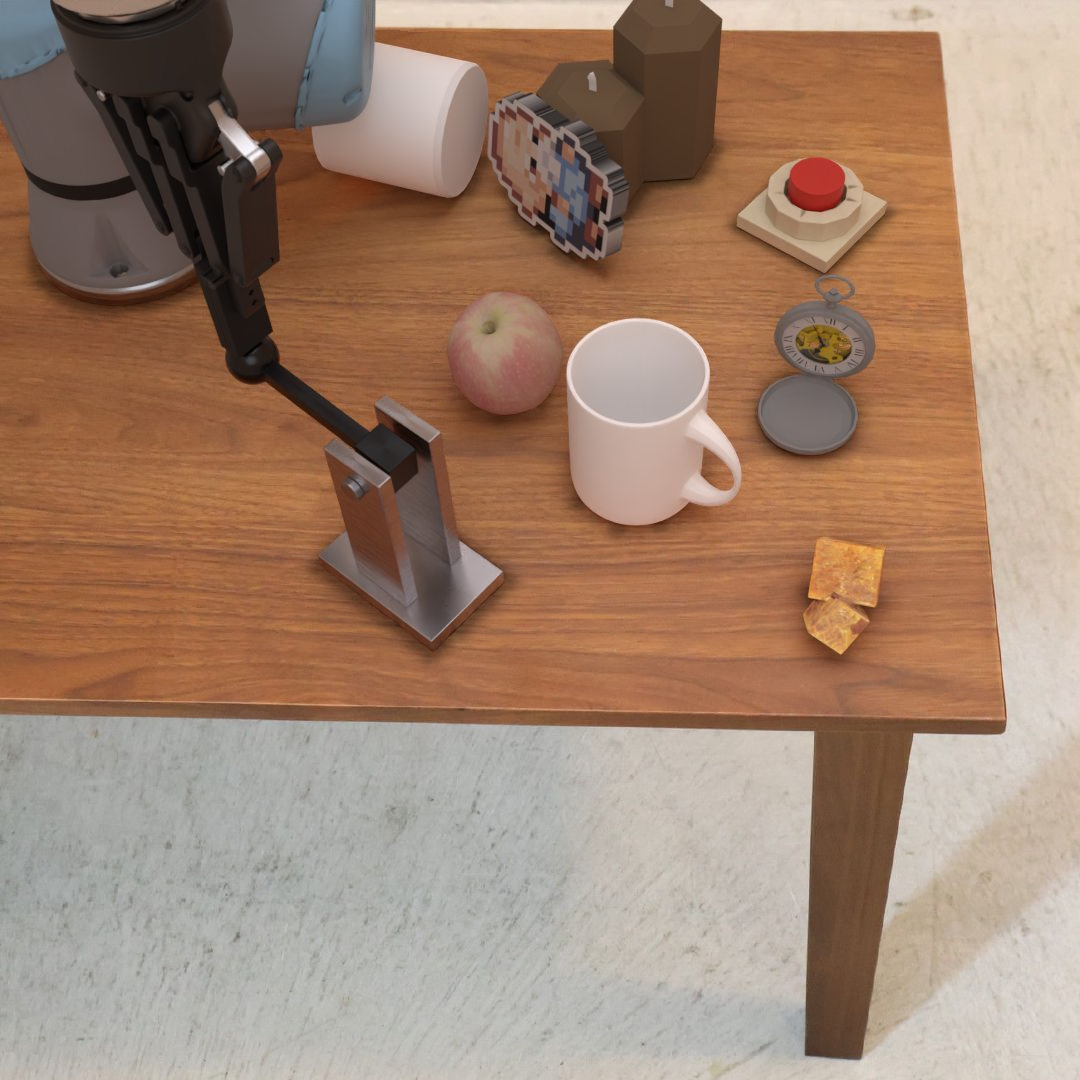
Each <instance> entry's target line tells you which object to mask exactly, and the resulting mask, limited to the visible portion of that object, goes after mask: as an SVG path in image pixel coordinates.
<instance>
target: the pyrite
mask: <svg viewBox="0 0 1080 1080" xmlns="http://www.w3.org/2000/svg"><path fill="white" fill-rule="evenodd" d="M815 541H816V542H815V546H814V553H813V561H812V567H811V574H810V581H809V587H808V592H807V598H808V599H813V600H812V602H811V603H810V604H809V606H808V607H807V608H806V610H805V611H804V612H803V614H802V617H803V621H804V624H805V628H806V631H807V634H808V635H811V636H812V637H813V638H815V639H817V640H818V641H820V642H821V643H822V644H824V645H825V646H827V647H828V648H830V649H831V650H833V651H834V652H836V653H838V654H839V655H843V653H844V652H845V651H846V650H847V649H848V648H849V647H850V646H851V644H852V643H853V642H854V641H855V640H856V639H857V637H859V635H860V634H861V633H862V632H863V631H864V629H866V627H867V626H868V625H869V624H870V619H869V617H868V615H867V613H866V611H865V610H864V608H863V607H864V606H865V607H871V608H876V607H877V605H878V603H879V599H880V597H879V596H880V591H881V586H882V585H881V584H882V578H883V572H884V566H885V565H884V564H885V559H886V552H887V547H888V546H887V544H883V543H882V544H881V543H876V542H875V543H873V542H867V541H861V540H855V539H849V538H842V537H835V536H834V537H833V536H823V535H822V536H819V537H818V538H816V540H815ZM862 606H863V607H862Z"/></svg>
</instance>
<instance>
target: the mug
mask: <svg viewBox="0 0 1080 1080" xmlns="http://www.w3.org/2000/svg"><path fill="white" fill-rule="evenodd" d="M565 374H566V375H565V376H566V377H565V378H566V398H567V399H566V400H567V402H566V403H567V423H568V449H569V450H568V451H569V466H570V476H571V480H572V485H573V487H574V489H575V492H576V495H577V496H578V497H579V499H580V500H581V502H583V504H584V505H585V506H586V507H587V508H588V509H589V510H591V512H593V513H594V514H596V515H598V516H599V517H601V518H603V519H604V520H607V521H610V522H612V523H615V524H620V525H624V526H625V525H626V526H647V525H648V526H649V525H653V524H656V523H660V522H662V521H664V520H665V521H666V520H668V519H670V518H671V517H673V516H674V515H676V514H677V513H679V512H680V511H682V510H683V509H684V508H685V507H686V506H687V505H688V504H689V503H691V504H693V505H699V506H704V507H719V506H723V505H726V504H729V503H730V502H731V501H732V500H733V499H735V497H736V496H737V494H738V493H739V491H740V489H741V486H742V485H741V484H742V478H743V474H742V473H743V472H742V466H741V463H740V459H739V456H738V454H737V452H736V449H735V448H734V446H733V444H732V443H731V441H730V440H729V438H728V437H727V436H726V434H725V433H724V432H723V431H722V429H721V428H720V427H719V426H718V425H717V423H716V422H714V420H713V419H712V418H711V417H710V415H708V402H709V394H710V393H709V390H710V379H711V368H710V363H709V359H708V357H707V355H706V353H705V350H704V349H703V348H702V346H701V345H700V344H699V343H698V341H697V340H696V339H695V338H694V337H693V336H691V335H690V334H689V333H688V332H686V331H685V330H684V329H682V328H680V327H678V326H675V325H674V324H671V323H669V322H666V321H663V320H658V319H652V318H645V317H644V318H643V317H641V318H640V317H634V318H624V319H618V320H615V321H610V322H608V323H606V324H603V325H600V326H598V327H597V328H595V329H593V330H592V331H590V332H589V333H587V334H585V336H584V337H583V338H582V339H580V340H579V342H577V344H576V345H575V347H574V348H573V350H572V351H571V353H570V355H569V358H568V360H567V365H566V373H565ZM704 448H705V449H707V450H708V451H710V452H712V454H714V455H716V457H718V458H719V459H720V460H721V461H722V462H723V463H724V465H726V466H727V468H728V469H729V471H730V472H731V474H732V477H733V485H732V487H731V488H730V489H728V490H722V489H719V488H717V487H715V486H713V485H712V484H711V483H709V481H707V480H706V479H705V478H704V477H703V475H702V468H703V461H704V460H703V458H704Z"/></svg>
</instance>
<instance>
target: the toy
mask: <svg viewBox="0 0 1080 1080" xmlns="http://www.w3.org/2000/svg"><path fill="white" fill-rule="evenodd" d="M487 133H488V135H487V158H488V160H489V161H490V162H491V163H492V170H493V172H494V173H495V174H496V175H497V180H498V182H499V184H500V185H501V186H502V187H504V188H505V189H506V190H507V196H508V198H509V200H510V201H511V202H512V203H513V204H515V205H516V206H517V213H518V214H519V215H520V217H521V218H523V219H524V220H525V221H527V222H528V223H529V224H531V225H532V226H533V227H536V226H538V225H540V226H541V227H543V228H544V229H545V230H546V231H547V232H549V239H550V240H551V241H552V243H553V244H554V245H556V246H557V247H558V248H559V249H561V250H562V251H563V252H565V253H566V254H568V253H570V252H573V253H575V254H576V255H578V257H580V258H581V259H583V260H586V259H589V258H592V259H593V260H594V261H595V262H596V261H600V260H602V259H606V258H608V257H611V256H612V255H615V254H616V253H618V252H620V251H621V249H622V246H623V245H622V244H623V235H624V227H625V221H624V219H623V218H622V216H625V215H626V213H627V208H628V206H627V203H628V195H629V183H628V182H627V181H626V180H625V178H624V173H625V172H624V169H623V168H622V167H620V166H619V165H618V164H617V163H615V162H614V161H613V160H611V159H610V158H609V157H608V151H607V149H606V147H605V146H604V145H602V144H601V143H600V142H598V141H597V137H596V132H595V131H594V129H592V128H591V127H590V126H588V125H587V124H585V123H584V122H582V121H581V120H580V119H577V120H574V121H572V122H570V120H569V119H568V118H566V117H565V116H564V115H562V114H561V113H560V112H558V111H557V110H553V108H552V107H551V106H550V105H549V104H547V103H546V102H545V101H543V100H542V99H540V98H539V97H538V96H536V93H534V92H528V93H523V92H522V91H520V90H519V91H515V92H513V93H511V94H508V95H506V96H503V97H502V98H501V100H498V101H496V102H495V104H494V111H492V112H490V113H489V114H488V132H487Z"/></svg>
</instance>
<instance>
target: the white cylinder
mask: <svg viewBox="0 0 1080 1080" xmlns="http://www.w3.org/2000/svg"><path fill="white" fill-rule="evenodd" d="M489 102H490V101H489V87H488V80H487V77H486V74H485V72H484V70H483V69H482V68H481V67H480V66H479V65H478V64H477V63H476V62H472V61H468V60H463V59H458V58H453V57H449V56H444V55H439V54H435V53H430V52H425V51H420V50H415V49H411V48H406V47H402V46H396V45H392V44H387V43H382V42H378V41H375V46H374V62H373V74H372V83H371V90H370V95H369V99H368V102H367V104H366V107H365V108H364V110H363V112H362V113H361V114H360V115H359V116H358V117H357V118H355V119H354V120H352V121H349V122H346V123H340V124H331V125H323V126H315V127H311V137H312V144H313V149H314V153H315V156H316V159H317V161H318V163H320V165H321V166H322V168H324V169H326V170H328V171H330V172H335V173H340V174H343V175H347V176H352V177H356V178H360V179H363V180H364V179H365V180H368V181H373V182H379V183H382V184H385V185H391V186H394V187H399V188H403V189H407V190H412V191H416V192H420V193H424V194H428V195H432V196H437V197H441V198H446V199H452V198H456V197H458V196H459V195H461V194H462V193H463V192H464V191H465V190H466V188H467V187H468V185H469V184H470V182H471V180H472V178H473V177H474V173H475V172H476V169H477V167H478V164H479V160H480V157H481V155H482V150H483V146H484V142H485V138H486V132H487V126H488V120H489V106H490V105H489V104H490V103H489Z"/></svg>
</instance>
